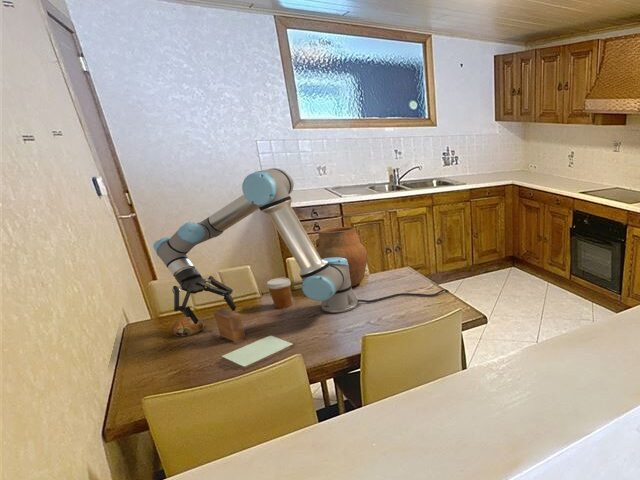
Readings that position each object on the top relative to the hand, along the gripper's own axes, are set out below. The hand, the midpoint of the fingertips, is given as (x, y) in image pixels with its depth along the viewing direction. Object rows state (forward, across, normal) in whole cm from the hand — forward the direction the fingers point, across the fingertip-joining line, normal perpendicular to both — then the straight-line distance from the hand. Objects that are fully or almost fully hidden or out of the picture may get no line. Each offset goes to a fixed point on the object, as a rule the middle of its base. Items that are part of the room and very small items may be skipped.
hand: (216, 315), depth 166 cm
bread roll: (-4, +5, -15) cm, 16 cm away
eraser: (+12, 0, 0) cm, 12 cm away
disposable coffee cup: (+3, -29, -9) cm, 31 cm away
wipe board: (+25, +2, +13) cm, 28 cm away
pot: (+5, -61, -7) cm, 61 cm away
